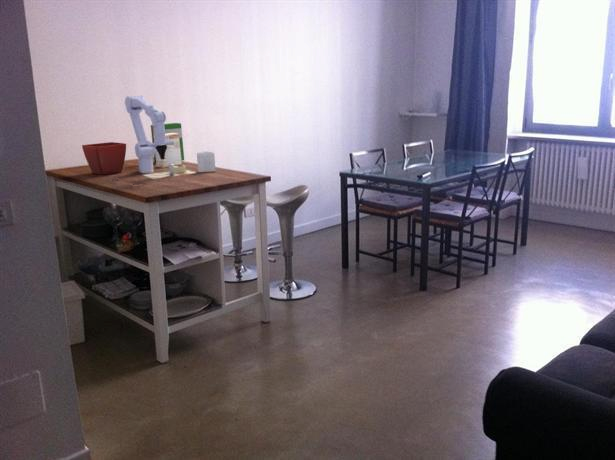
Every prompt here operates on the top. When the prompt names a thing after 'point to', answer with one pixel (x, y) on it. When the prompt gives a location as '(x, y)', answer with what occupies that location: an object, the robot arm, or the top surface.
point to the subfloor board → (166, 174)
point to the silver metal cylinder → (171, 169)
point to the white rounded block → (206, 161)
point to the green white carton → (171, 129)
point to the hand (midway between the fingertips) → (162, 159)
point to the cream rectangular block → (179, 169)
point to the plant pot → (105, 157)
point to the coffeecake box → (170, 151)
